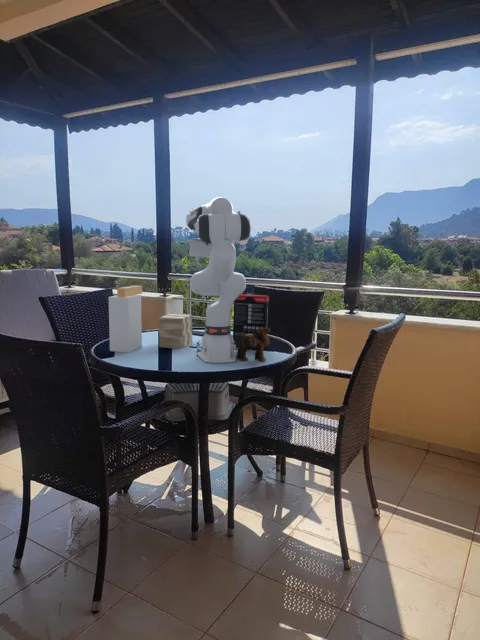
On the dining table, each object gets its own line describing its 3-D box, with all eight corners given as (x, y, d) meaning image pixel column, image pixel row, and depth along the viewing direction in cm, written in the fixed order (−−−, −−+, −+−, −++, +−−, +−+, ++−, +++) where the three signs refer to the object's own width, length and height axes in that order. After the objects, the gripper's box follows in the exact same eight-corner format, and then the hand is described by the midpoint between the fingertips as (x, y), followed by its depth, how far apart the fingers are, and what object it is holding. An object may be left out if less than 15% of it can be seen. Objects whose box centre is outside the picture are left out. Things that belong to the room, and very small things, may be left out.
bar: (135, 293, 226) (134, 285, 226) (142, 293, 225) (142, 285, 225) (117, 296, 208) (117, 288, 207) (125, 296, 207) (125, 288, 206)
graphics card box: (267, 347, 224) (269, 294, 220) (265, 350, 218) (266, 295, 214) (235, 345, 228) (236, 293, 224) (232, 348, 222) (233, 294, 218)
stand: (123, 345, 223) (122, 294, 219) (141, 346, 221) (141, 295, 217) (109, 351, 210) (108, 296, 206) (129, 352, 208) (128, 297, 204)
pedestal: (170, 341, 236) (170, 313, 233) (192, 342, 233) (192, 314, 231) (159, 347, 220) (159, 317, 218) (182, 348, 218) (182, 318, 216)
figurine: (269, 363, 193) (270, 329, 191) (234, 361, 194) (235, 328, 192) (269, 358, 202) (270, 325, 200) (237, 356, 204) (237, 324, 201)
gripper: (189, 237, 218) (187, 264, 219) (230, 240, 220) (228, 268, 221) (189, 238, 224) (188, 265, 226) (229, 241, 226) (227, 268, 227)
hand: (208, 266), depth 223 cm, fingers open, 8 cm apart
